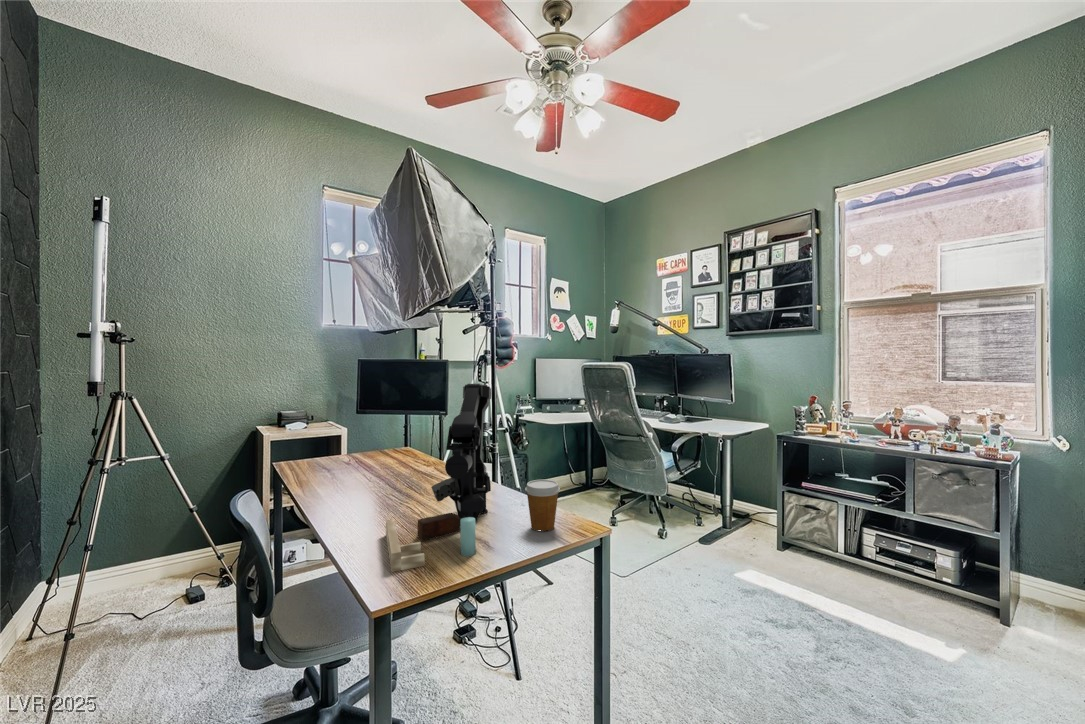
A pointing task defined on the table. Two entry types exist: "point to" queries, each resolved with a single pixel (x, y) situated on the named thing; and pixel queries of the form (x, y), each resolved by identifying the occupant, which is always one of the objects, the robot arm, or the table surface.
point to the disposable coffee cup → (542, 503)
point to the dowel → (468, 536)
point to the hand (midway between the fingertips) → (464, 526)
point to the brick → (438, 526)
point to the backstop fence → (402, 551)
